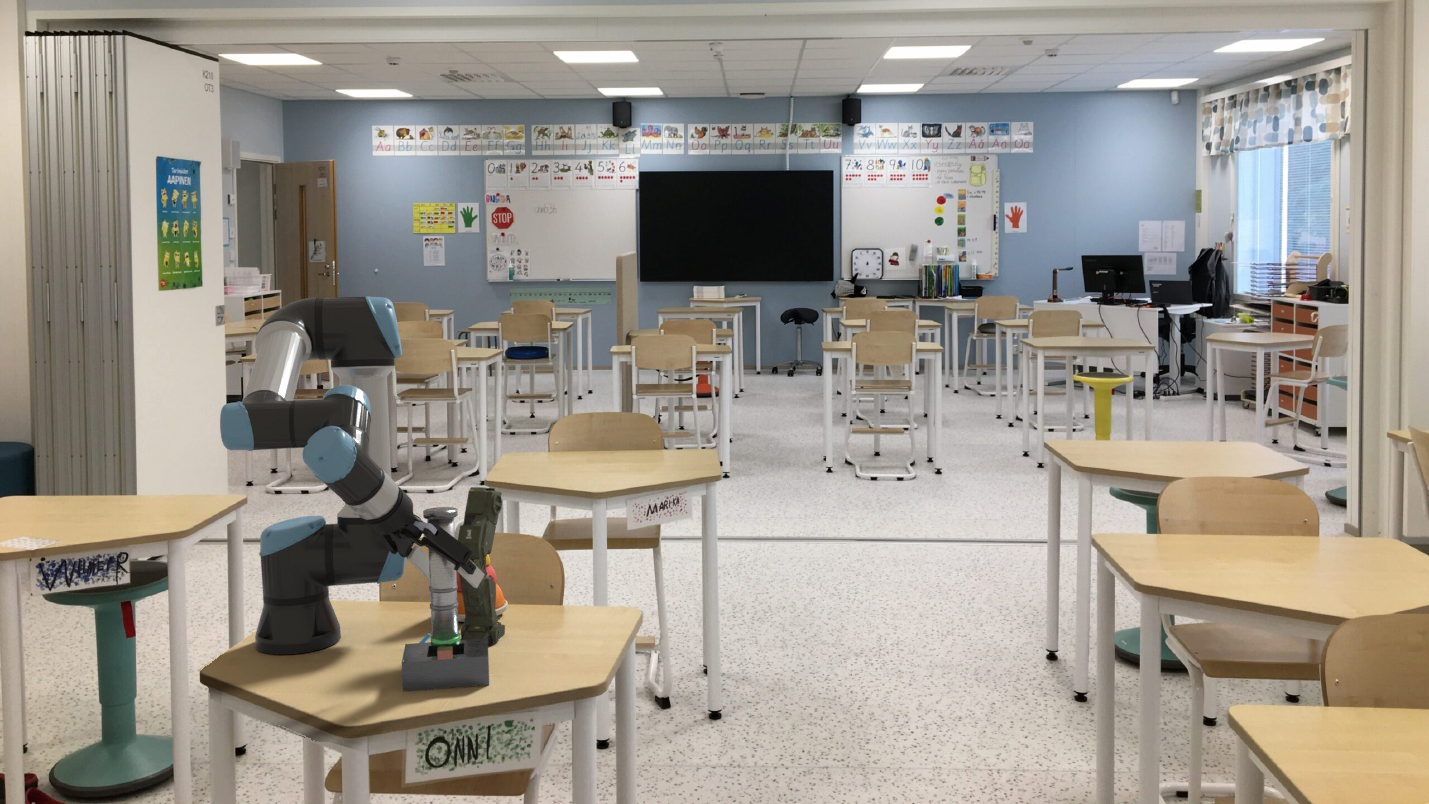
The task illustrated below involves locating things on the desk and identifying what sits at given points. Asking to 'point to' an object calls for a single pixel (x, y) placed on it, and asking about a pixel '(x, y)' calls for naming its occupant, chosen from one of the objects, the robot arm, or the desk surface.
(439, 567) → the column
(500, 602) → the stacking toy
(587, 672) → the desk surface
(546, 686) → the desk surface
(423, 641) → the pencil
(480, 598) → the mechanical leg
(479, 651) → the stand
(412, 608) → the desk surface
